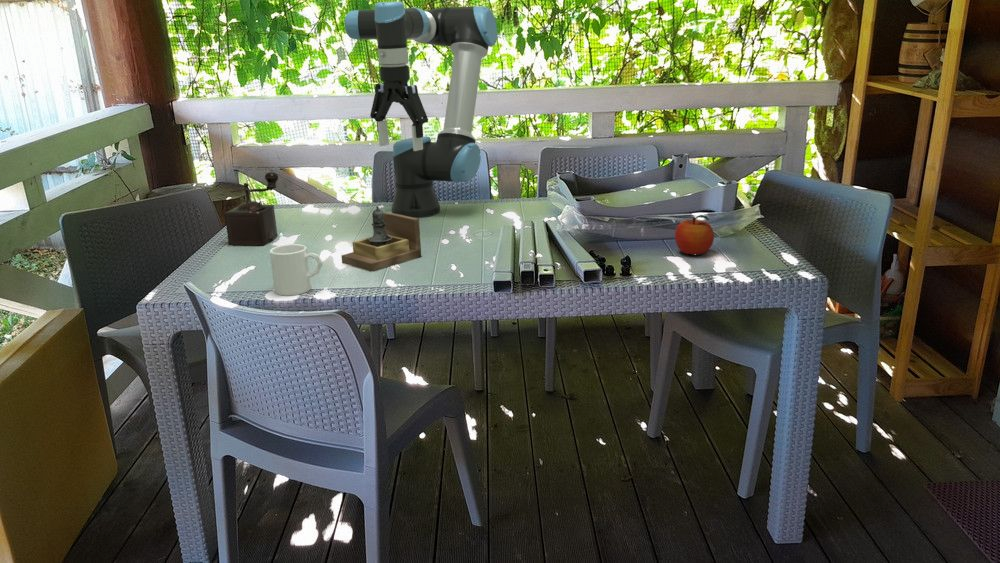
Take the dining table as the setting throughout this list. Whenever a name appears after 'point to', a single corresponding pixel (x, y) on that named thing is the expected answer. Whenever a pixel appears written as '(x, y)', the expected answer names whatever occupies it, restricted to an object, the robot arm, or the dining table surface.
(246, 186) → the manual coffee grinder
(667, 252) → the dining table surface
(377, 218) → the salt shaker
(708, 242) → the fruit
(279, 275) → the mug
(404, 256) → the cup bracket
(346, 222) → the dining table surface
